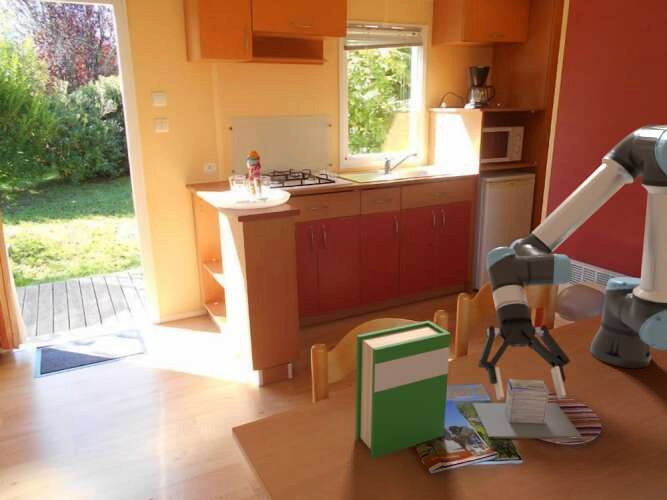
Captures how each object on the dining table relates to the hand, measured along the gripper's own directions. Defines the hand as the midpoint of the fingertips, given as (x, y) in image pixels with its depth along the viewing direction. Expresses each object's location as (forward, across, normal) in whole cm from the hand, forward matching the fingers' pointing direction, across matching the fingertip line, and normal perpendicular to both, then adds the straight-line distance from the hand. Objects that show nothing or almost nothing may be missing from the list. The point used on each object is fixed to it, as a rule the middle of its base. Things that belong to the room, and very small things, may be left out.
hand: (531, 397), depth 114 cm
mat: (+4, 0, -7) cm, 7 cm away
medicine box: (+3, 0, -6) cm, 7 cm away
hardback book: (+7, +29, -3) cm, 30 cm away
